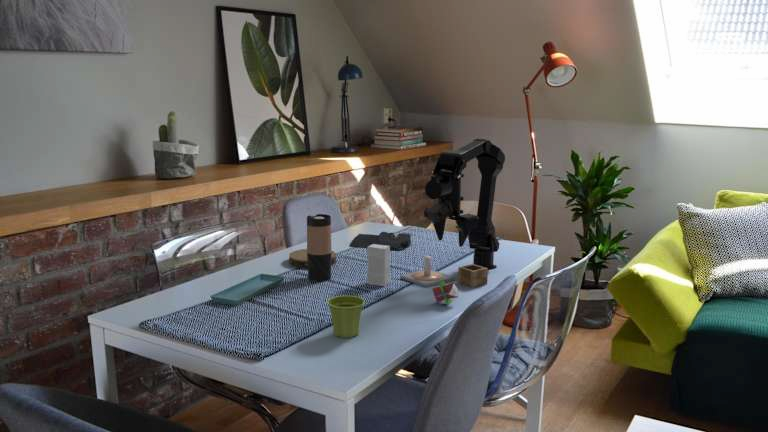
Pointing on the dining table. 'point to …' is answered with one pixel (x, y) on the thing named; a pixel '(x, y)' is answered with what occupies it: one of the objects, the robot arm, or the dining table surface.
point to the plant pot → (346, 315)
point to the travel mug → (319, 247)
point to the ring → (472, 275)
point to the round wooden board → (304, 258)
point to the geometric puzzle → (445, 292)
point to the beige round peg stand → (427, 275)
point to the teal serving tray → (247, 289)
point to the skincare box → (378, 264)
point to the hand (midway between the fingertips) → (450, 243)
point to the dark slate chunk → (382, 240)
